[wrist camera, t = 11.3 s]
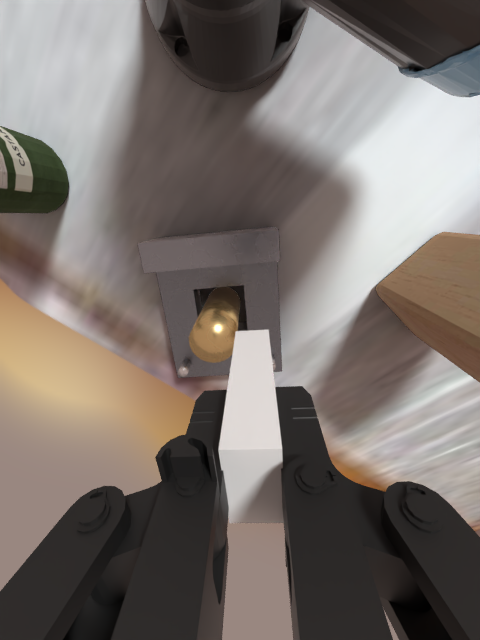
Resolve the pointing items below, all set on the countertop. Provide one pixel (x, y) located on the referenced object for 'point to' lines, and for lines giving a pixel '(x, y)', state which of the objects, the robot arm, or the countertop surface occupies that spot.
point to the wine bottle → (29, 175)
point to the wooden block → (441, 297)
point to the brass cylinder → (216, 326)
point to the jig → (210, 272)
